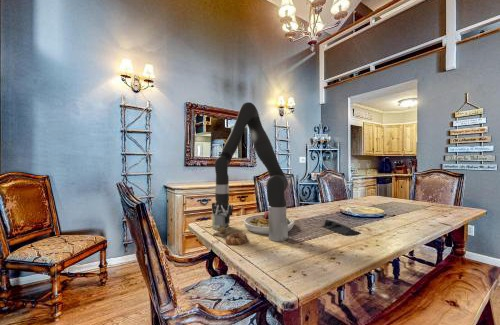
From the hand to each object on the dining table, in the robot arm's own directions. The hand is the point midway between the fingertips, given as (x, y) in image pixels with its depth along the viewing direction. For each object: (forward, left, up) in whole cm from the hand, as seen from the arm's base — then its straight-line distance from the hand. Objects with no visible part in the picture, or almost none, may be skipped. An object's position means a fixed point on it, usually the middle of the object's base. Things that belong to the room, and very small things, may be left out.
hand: (222, 222), depth 126 cm
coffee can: (+10, -10, -7) cm, 15 cm away
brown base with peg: (0, 0, -7) cm, 7 cm away
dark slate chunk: (-54, -43, -8) cm, 69 cm away
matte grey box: (0, 0, -1) cm, 1 cm away
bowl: (-16, -25, -7) cm, 30 cm away
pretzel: (-13, +4, -7) cm, 16 cm away
